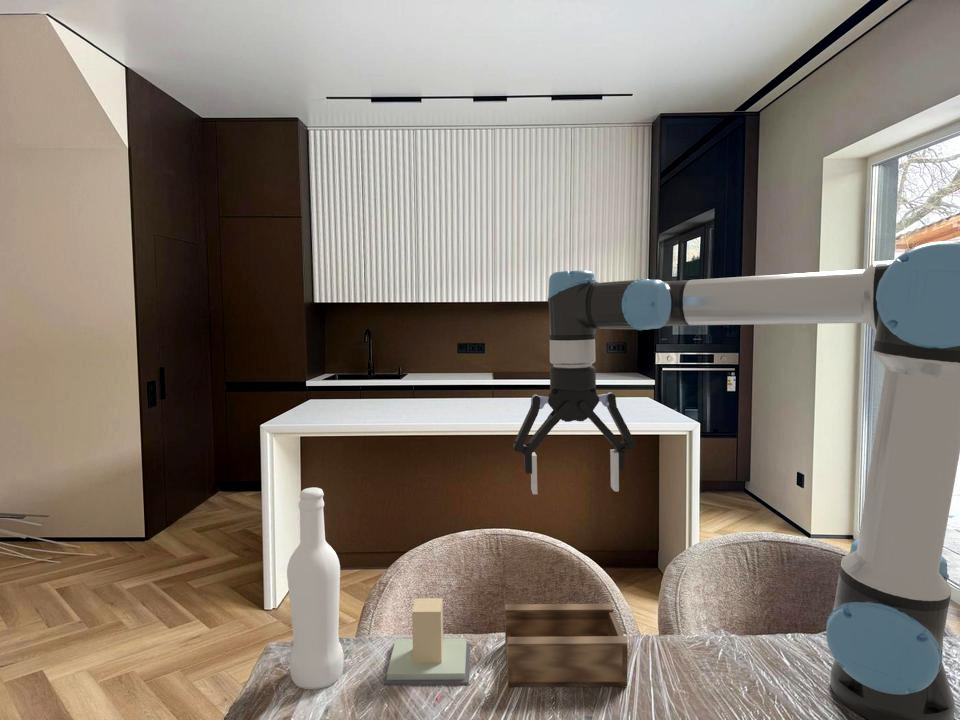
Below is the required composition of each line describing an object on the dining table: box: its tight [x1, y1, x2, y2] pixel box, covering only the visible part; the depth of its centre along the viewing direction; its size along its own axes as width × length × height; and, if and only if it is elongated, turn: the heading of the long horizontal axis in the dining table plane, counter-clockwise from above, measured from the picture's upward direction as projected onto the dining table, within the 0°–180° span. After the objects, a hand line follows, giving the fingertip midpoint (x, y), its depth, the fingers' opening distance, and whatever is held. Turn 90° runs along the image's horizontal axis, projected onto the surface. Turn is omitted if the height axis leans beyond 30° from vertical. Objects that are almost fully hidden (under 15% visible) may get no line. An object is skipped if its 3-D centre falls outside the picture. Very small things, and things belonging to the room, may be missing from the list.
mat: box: [383, 642, 471, 686], centre depth 102 cm, size 13×11×1 cm
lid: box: [386, 597, 468, 680], centre depth 102 cm, size 12×10×10 cm
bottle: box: [286, 487, 345, 690], centre depth 98 cm, size 8×8×30 cm
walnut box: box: [504, 603, 629, 688], centre depth 102 cm, size 18×12×7 cm
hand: (574, 490), depth 107 cm, fingers open, 13 cm apart
